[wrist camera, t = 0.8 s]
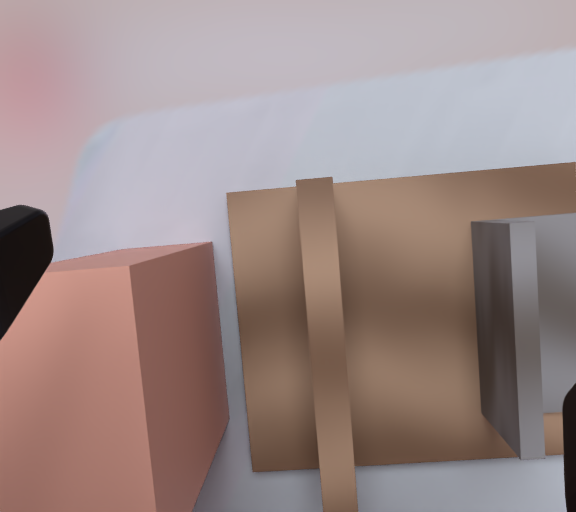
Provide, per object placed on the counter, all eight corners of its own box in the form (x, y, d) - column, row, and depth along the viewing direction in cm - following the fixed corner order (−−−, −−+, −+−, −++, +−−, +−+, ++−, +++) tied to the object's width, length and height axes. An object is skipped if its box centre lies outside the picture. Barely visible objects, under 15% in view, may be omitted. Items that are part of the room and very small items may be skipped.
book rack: (587, 441, 22) (669, 508, 17) (255, 460, 23) (239, 530, 18) (578, 163, 21) (661, 147, 16) (230, 193, 22) (205, 187, 17)
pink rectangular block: (229, 418, 23) (163, 581, 13) (142, 424, 23) (10, 588, 13) (212, 241, 22) (128, 265, 12) (122, 249, 22) (-32, 279, 12)
